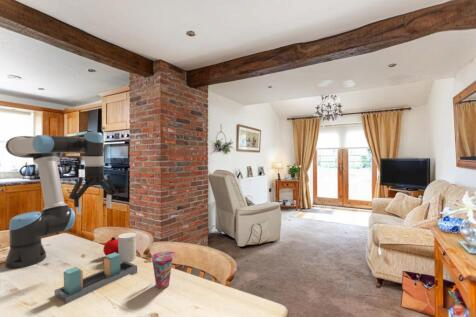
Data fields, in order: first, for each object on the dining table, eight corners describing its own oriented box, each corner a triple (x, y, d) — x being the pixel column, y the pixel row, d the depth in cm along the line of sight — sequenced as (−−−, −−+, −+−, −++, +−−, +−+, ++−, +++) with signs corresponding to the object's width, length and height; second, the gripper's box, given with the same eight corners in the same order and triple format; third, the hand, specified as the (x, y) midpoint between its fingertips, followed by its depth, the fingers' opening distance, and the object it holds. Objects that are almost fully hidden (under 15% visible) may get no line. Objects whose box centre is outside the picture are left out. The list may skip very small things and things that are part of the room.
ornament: (122, 258, 121) (122, 239, 121) (102, 261, 118) (102, 241, 117) (123, 251, 129) (123, 233, 129) (104, 254, 126) (104, 235, 126)
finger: (104, 277, 101) (103, 256, 101) (115, 272, 105) (114, 252, 105) (109, 280, 99) (108, 258, 98) (120, 275, 103) (120, 254, 102)
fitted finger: (83, 291, 90) (83, 268, 90) (69, 298, 86) (68, 273, 86) (78, 288, 93) (77, 265, 92) (64, 294, 88) (63, 270, 88)
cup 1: (129, 263, 116) (129, 238, 116) (114, 261, 118) (114, 237, 118) (139, 256, 124) (139, 233, 124) (125, 254, 126) (125, 232, 125)
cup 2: (165, 292, 91) (165, 261, 91) (147, 288, 94) (146, 258, 94) (178, 280, 100) (178, 252, 100) (161, 277, 103) (161, 249, 103)
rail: (54, 298, 88) (54, 290, 88) (125, 267, 112) (125, 260, 112) (66, 306, 83) (66, 298, 83) (137, 272, 107) (137, 265, 107)
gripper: (115, 164, 124) (115, 204, 124) (59, 166, 103) (60, 215, 103) (124, 164, 120) (124, 206, 120) (67, 167, 99) (68, 218, 99)
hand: (94, 211), depth 112 cm, fingers open, 13 cm apart
